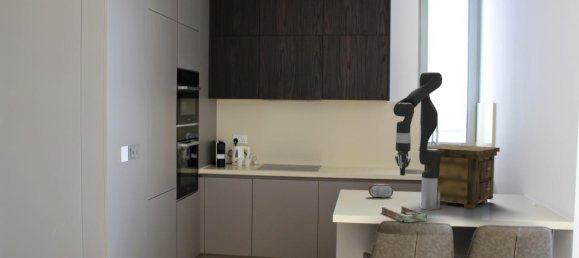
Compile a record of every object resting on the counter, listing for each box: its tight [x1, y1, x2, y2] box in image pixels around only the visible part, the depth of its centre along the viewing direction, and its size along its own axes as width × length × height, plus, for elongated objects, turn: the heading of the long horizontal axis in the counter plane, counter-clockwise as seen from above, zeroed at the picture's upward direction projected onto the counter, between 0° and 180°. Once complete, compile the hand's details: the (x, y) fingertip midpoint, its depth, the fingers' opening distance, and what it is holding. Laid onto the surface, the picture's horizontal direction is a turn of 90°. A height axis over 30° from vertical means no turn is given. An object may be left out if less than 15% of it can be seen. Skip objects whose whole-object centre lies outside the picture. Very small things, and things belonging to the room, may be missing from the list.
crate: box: [418, 143, 500, 209], centre depth 336 cm, size 35×35×33 cm
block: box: [404, 212, 419, 215], centre depth 285 cm, size 5×5×4 cm
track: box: [381, 205, 428, 223], centre depth 293 cm, size 13×24×3 cm, turn 17°
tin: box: [368, 183, 394, 198], centre depth 352 cm, size 15×3×8 cm, turn 92°
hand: (402, 175), depth 295 cm, fingers closed
